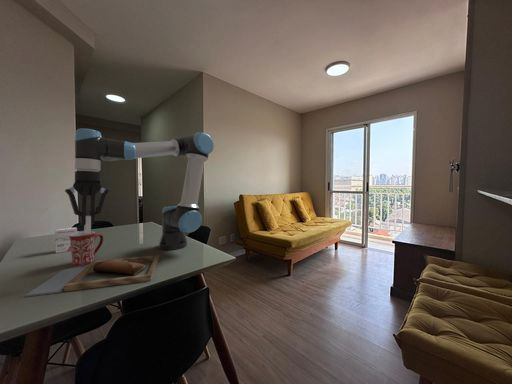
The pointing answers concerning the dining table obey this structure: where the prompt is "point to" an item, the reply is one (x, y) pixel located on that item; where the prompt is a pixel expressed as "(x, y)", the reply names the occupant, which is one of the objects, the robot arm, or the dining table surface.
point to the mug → (83, 247)
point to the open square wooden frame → (77, 285)
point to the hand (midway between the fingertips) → (87, 232)
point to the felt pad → (55, 283)
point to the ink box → (63, 239)
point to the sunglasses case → (119, 266)
